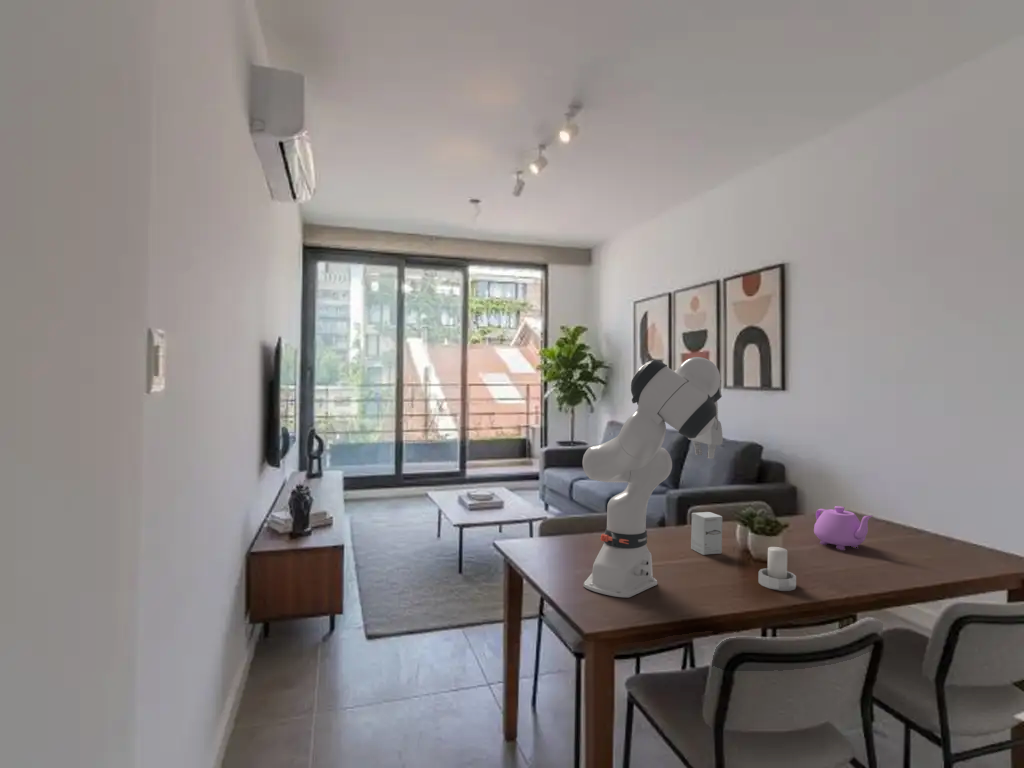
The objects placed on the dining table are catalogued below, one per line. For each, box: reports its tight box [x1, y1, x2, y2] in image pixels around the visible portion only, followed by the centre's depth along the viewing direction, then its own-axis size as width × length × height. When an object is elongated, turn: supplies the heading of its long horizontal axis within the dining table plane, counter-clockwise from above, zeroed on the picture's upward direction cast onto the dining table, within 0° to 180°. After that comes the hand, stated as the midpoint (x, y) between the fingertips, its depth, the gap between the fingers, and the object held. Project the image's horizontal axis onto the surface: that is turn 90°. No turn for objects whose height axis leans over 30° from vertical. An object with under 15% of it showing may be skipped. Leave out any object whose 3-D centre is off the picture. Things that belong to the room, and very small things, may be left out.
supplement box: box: [690, 511, 723, 556], centre depth 186 cm, size 7×7×13 cm
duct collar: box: [758, 567, 797, 592], centre depth 156 cm, size 9×9×3 cm
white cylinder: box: [767, 546, 788, 579], centre depth 156 cm, size 5×5×10 cm
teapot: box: [813, 505, 873, 551], centre depth 194 cm, size 22×16×14 cm
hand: (704, 456), depth 177 cm, fingers open, 8 cm apart
